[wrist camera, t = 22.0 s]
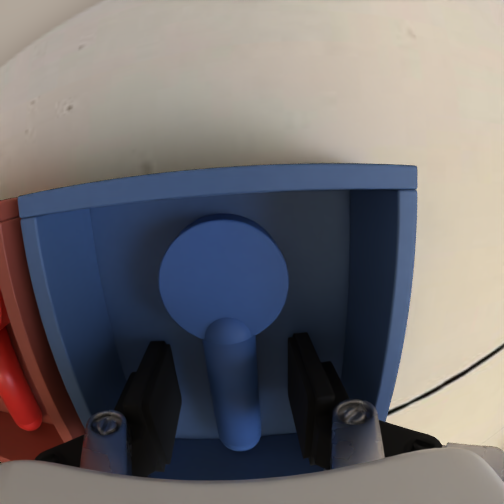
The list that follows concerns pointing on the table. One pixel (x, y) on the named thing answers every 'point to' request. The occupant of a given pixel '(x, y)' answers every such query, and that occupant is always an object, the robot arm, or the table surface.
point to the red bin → (30, 352)
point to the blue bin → (267, 342)
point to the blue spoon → (226, 310)
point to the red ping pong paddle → (15, 381)
